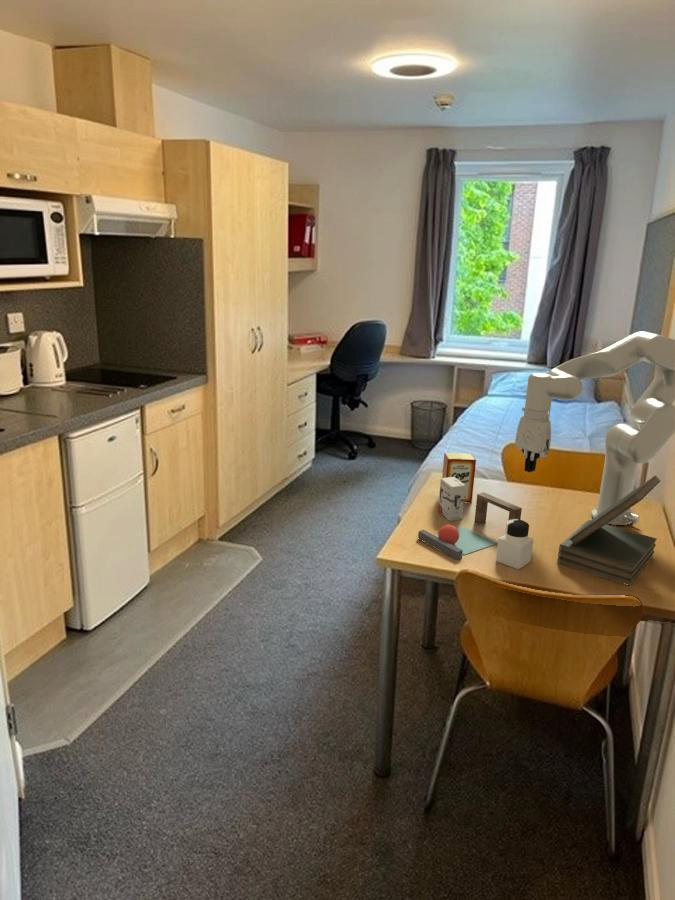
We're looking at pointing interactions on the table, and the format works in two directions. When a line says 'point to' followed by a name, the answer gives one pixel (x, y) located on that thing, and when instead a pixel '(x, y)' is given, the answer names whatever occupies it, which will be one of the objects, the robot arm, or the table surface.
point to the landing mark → (471, 541)
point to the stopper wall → (440, 544)
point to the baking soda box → (461, 471)
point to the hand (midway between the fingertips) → (529, 470)
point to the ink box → (451, 498)
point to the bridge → (486, 498)
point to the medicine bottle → (515, 544)
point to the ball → (449, 534)
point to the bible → (610, 543)
